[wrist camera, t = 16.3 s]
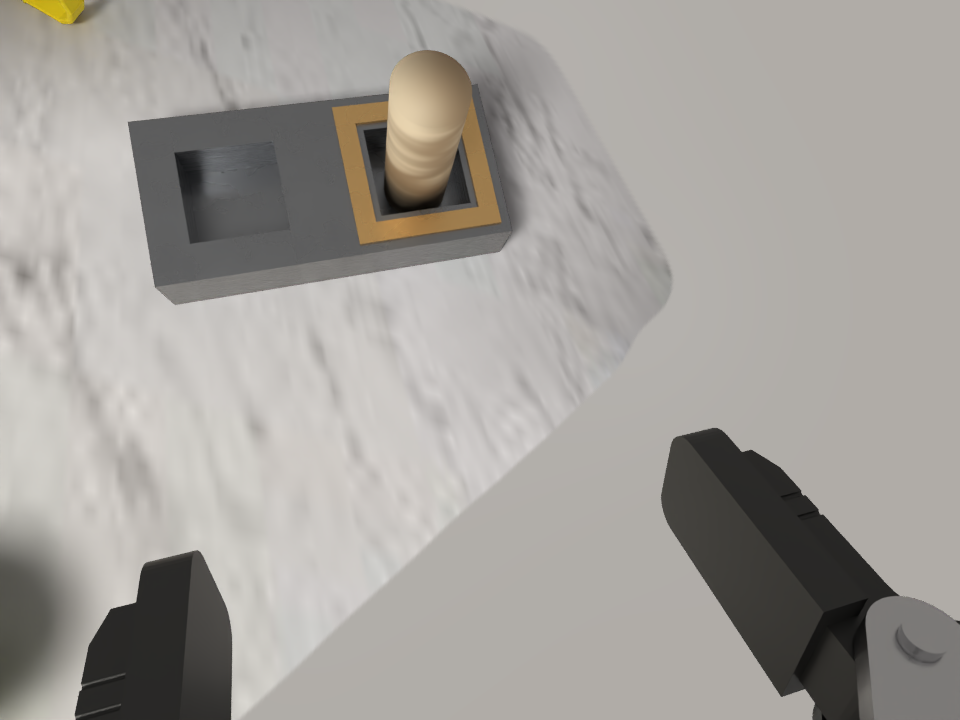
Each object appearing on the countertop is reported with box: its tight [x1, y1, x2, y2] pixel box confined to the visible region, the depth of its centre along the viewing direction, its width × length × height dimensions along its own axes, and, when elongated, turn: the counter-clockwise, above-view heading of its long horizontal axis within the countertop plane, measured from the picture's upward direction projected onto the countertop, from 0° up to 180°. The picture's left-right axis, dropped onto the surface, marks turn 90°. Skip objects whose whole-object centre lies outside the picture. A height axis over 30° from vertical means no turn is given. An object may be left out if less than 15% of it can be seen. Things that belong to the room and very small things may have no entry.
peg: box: [384, 50, 472, 213], centre depth 37 cm, size 4×4×12 cm
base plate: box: [128, 84, 512, 305], centre depth 41 cm, size 21×10×4 cm, turn 103°
